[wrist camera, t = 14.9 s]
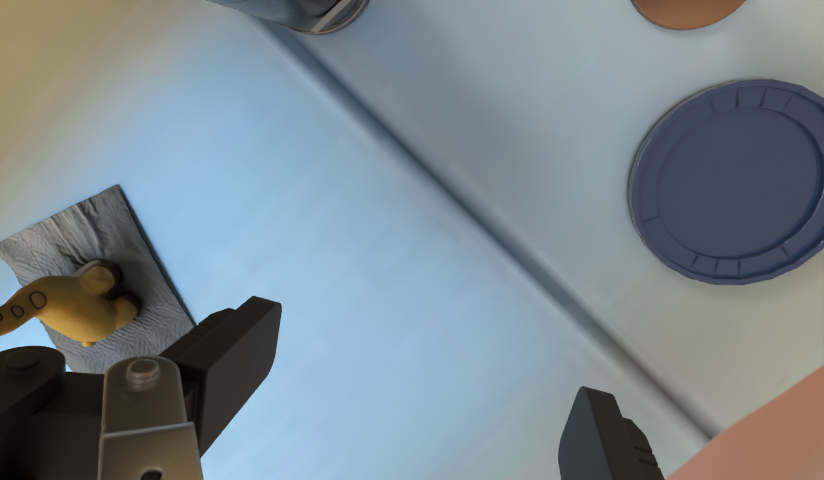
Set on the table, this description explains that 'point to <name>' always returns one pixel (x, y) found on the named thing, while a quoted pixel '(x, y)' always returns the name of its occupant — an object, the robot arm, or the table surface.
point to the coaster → (686, 12)
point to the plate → (733, 183)
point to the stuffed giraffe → (92, 286)
